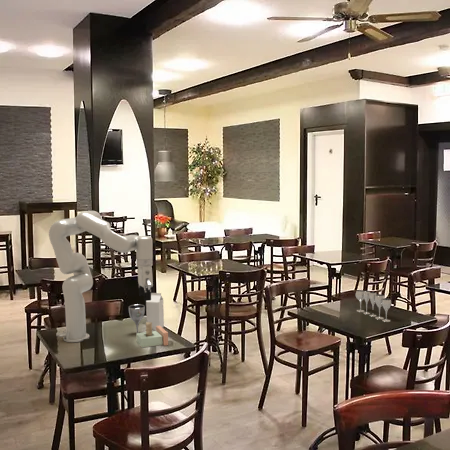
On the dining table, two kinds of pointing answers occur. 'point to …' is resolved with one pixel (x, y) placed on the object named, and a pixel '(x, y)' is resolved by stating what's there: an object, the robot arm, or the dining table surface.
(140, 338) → the tissue box
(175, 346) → the dining table surface
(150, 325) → the dowel
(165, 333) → the orange rectangular block
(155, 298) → the milk carton
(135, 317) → the wine glass
